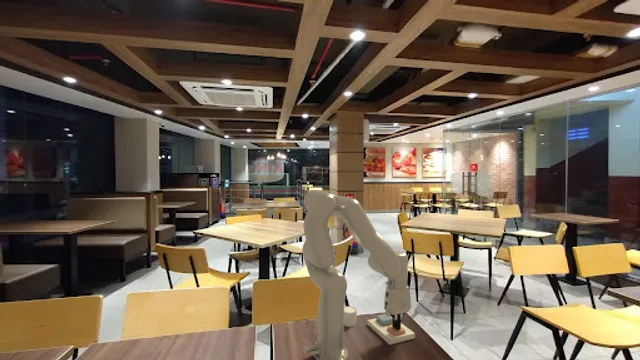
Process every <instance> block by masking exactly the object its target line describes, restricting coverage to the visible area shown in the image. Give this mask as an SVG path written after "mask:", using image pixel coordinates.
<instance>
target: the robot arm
mask: <svg viewBox="0 0 640 360" xmlns="http://www.w3.org/2000/svg"><path fill="white" fill-rule="evenodd" d="M303 206H304V208H305V209H306V210H307V212H306V215H305V217H304V219H303V232H304V237H305V241H304V243H303V244H302V250H301V251H302V257H303V260H304V263H305V266H306V269H307V272H308V275H309V278H310V280H311V282H312V283H313V284H314V285H315V287H317V288H318V289H319V291H320V294H319V299H318V305H317V340H315V341H314V342H315V343H314V344H312V345H311V346H305V347H304V352H305V354H309V353H310V356H311V357H313V358H314V359H315V360H347V359H348V357H349V353H348V352H349V351H348V349H347V347H346V346H344V345H345V343H344V342H345V326H344V307H345V303H346V302H345V301H346V295H347V290H348V282H347V279H346V278H347V277H346V276H345V275H344V274H343V272H341V270H339V269H337V268H336V267H335V266H334V264H335V262H336V257H337V256H336V251H335V248H334V244H333V241H332V237H331V236H330V231H329V220H330V217H335V218H339V219H342V221H343V223H344V224H345V225H346V228H347V229H348V230H349V233H350V234H351V236H352V238H353V239H354V240H355V242H356V243H357V244H358V245H359V246H361V248H363V250H364V249H365V250H366V251H367V252H368V253H369V256H368V258H367V265H368V266H369V268H370V269H372V270H373V271H375V272H377V273H378V274H380V275H382V276H383V277H385V278H387V281H385V285H386V288H385V292H384V300H383V303H384V304H383V308H384V311H385V312H384V314H385V315H386V316H391V317H392V326H393V327H394V328H395V329H396V330H398V329H399V330H400V329H401V323H402V320H403V317H404V315H405V314H407V313H408V312H410V311H411V309H412V308H411V307H412V302H411V301H412V299H411V298H412V297H411V291H410V287H409V285H408V272H409V271H408V270H409V269H408V267H409V265H408V263H409V262H408V260H409V256H408V254H407V253H406V252H404V251H399V250H398V251H397V250H393V248H392V247H391V246H390V244H389V243H388V242H387V241H386V240H385V239H384V238H383V236H382V235H381V234H380V233H379V232H378V231H377V230H376V228H375V227H374V225H373V223H372V222H371V220H370V219H369V216H367V214H366V211H365V209H363V207H362V205H361V203H360V202H359V200H357V199H355V198H353V197H347V196H342V195H337V194H332V193H330V192H327V191H323V190H316V189H313V190H309V191H308V192H307V193H306V194H305V195H304V197H303Z"/></svg>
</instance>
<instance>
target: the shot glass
mask: <svg viewBox="0 0 640 360" xmlns="http://www.w3.org/2000/svg"><path fill="white" fill-rule="evenodd" d="M357 312H358V310H357V308H355V306H351V305H347V306H344V327H349V328H352V327H354V326H355V325H356V322H357V314H358V313H357Z"/></svg>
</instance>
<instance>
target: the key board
mask: <svg viewBox="0 0 640 360" xmlns="http://www.w3.org/2000/svg"><path fill="white" fill-rule="evenodd" d="M390 317H391V316H390ZM391 318H392V317H391ZM391 325H392V324H391ZM391 325H386V326H382V325H381V324H380V323H378V322H377V321H376V317H375V318H370V319H367V326H368V327H370V329H372V330H373V331H374V332H375V333H376V334H378V335H379V337H381V339H383V341H384V342H386V343H387V345H394V344H398V343H401V342H406V341H409V340H410V341H411V340H414V339H416V333H415V332H414V331H413V330H412V329H410V328H409V327H407V326H406V325H404V324H403V323H402V322H401V327H402V328H403V329H405V334H402V335H398V336H394V335H393V334H392V333H390V332H389V331H388V330H387V326H391Z"/></svg>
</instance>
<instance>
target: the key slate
mask: <svg viewBox="0 0 640 360" xmlns="http://www.w3.org/2000/svg"><path fill="white" fill-rule="evenodd" d="M375 318H376V321H377V322H378V323H380V324H381V325H382V326H386V325H391V324H392V318H391V317H390V316H386V315H385V313H382V314H378V315H377V314H376V317H375Z"/></svg>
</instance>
